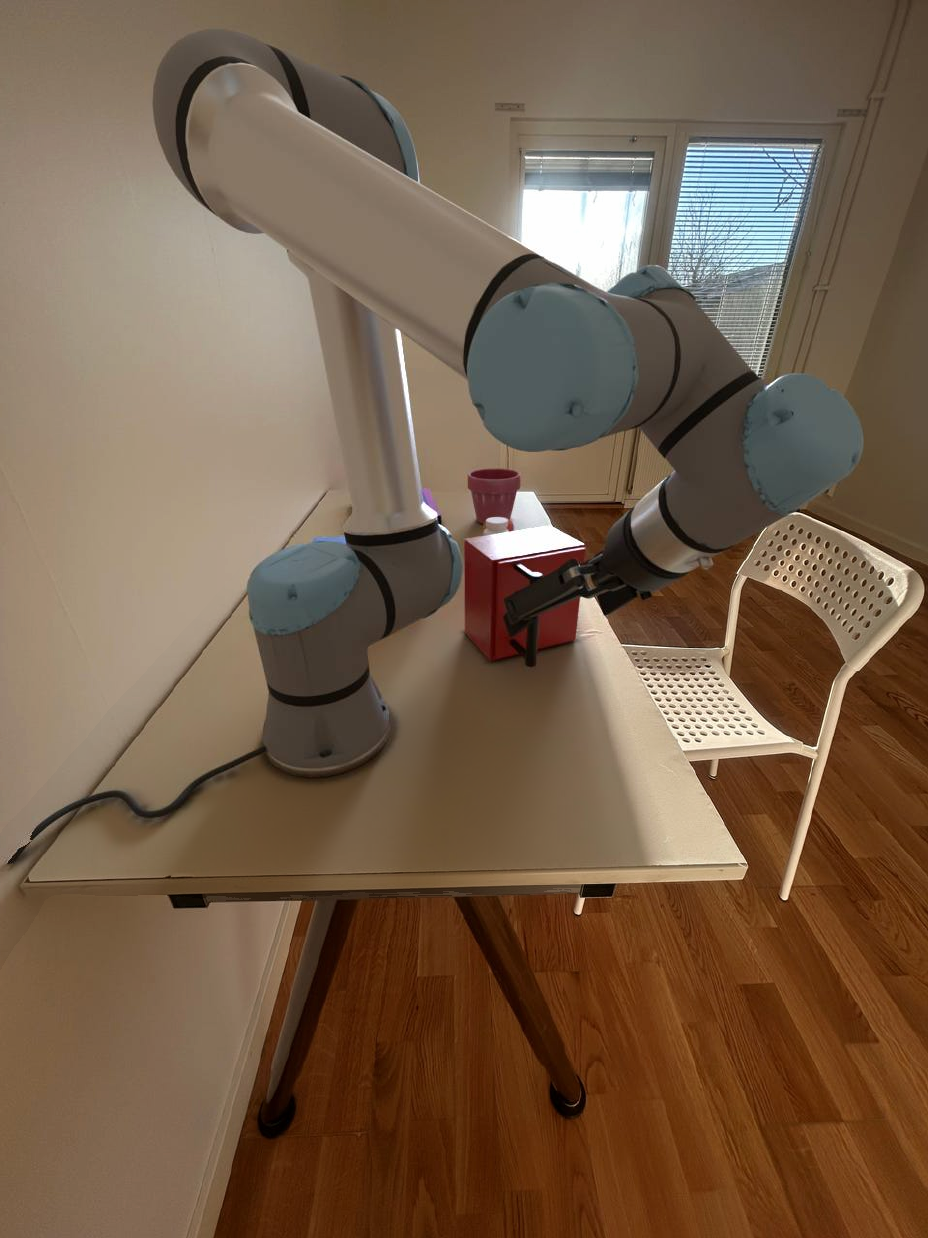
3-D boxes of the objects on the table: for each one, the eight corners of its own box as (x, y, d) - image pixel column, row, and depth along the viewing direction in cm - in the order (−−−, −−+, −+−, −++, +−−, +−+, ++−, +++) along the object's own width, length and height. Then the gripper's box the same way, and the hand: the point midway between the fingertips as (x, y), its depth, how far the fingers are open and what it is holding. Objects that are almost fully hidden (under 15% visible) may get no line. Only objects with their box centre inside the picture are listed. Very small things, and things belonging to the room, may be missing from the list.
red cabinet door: (599, 658, 77) (613, 562, 70) (516, 681, 73) (521, 579, 65) (572, 637, 83) (582, 546, 76) (494, 656, 78) (496, 560, 71)
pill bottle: (489, 570, 110) (490, 525, 106) (478, 561, 115) (478, 517, 110) (513, 566, 112) (515, 521, 108) (501, 557, 117) (502, 514, 112)
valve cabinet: (574, 640, 84) (585, 544, 76) (490, 661, 79) (492, 560, 71) (543, 615, 92) (550, 525, 84) (464, 632, 87) (464, 538, 79)
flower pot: (464, 513, 147) (464, 468, 141) (513, 511, 148) (515, 466, 142) (471, 529, 134) (471, 480, 128) (523, 527, 136) (526, 478, 130)
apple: (485, 552, 120) (485, 518, 116) (480, 541, 126) (480, 509, 122) (516, 550, 121) (517, 517, 117) (509, 540, 127) (510, 508, 123)
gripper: (556, 602, 39) (474, 666, 59) (784, 554, 48) (648, 624, 67) (525, 516, 41) (456, 606, 60) (751, 484, 50) (627, 572, 69)
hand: (557, 615), depth 64 cm, fingers open, 13 cm apart
